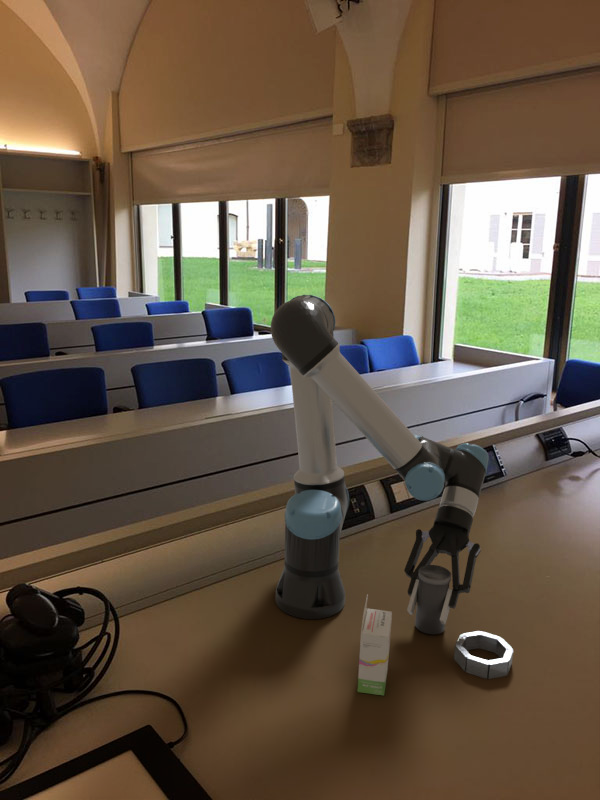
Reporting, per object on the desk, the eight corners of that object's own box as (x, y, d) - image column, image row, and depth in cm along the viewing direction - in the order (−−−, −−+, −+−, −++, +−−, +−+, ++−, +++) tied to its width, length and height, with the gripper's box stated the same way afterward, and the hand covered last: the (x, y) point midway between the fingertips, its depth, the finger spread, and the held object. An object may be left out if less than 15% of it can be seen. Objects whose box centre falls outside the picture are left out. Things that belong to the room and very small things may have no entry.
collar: (449, 667, 126) (450, 652, 125) (463, 639, 134) (464, 626, 134) (504, 684, 121) (505, 670, 120) (514, 655, 130) (516, 641, 129)
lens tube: (409, 628, 136) (414, 575, 133) (419, 613, 142) (424, 561, 139) (440, 638, 134) (446, 583, 131) (449, 622, 139) (455, 570, 136)
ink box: (385, 697, 117) (390, 621, 113) (356, 692, 118) (360, 617, 114) (388, 667, 125) (393, 595, 122) (362, 663, 126) (366, 591, 123)
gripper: (502, 529, 142) (475, 637, 132) (416, 509, 151) (385, 609, 141) (499, 515, 137) (471, 626, 126) (410, 495, 145) (377, 598, 135)
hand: (426, 617), depth 134 cm, fingers closed on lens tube, 6 cm apart
